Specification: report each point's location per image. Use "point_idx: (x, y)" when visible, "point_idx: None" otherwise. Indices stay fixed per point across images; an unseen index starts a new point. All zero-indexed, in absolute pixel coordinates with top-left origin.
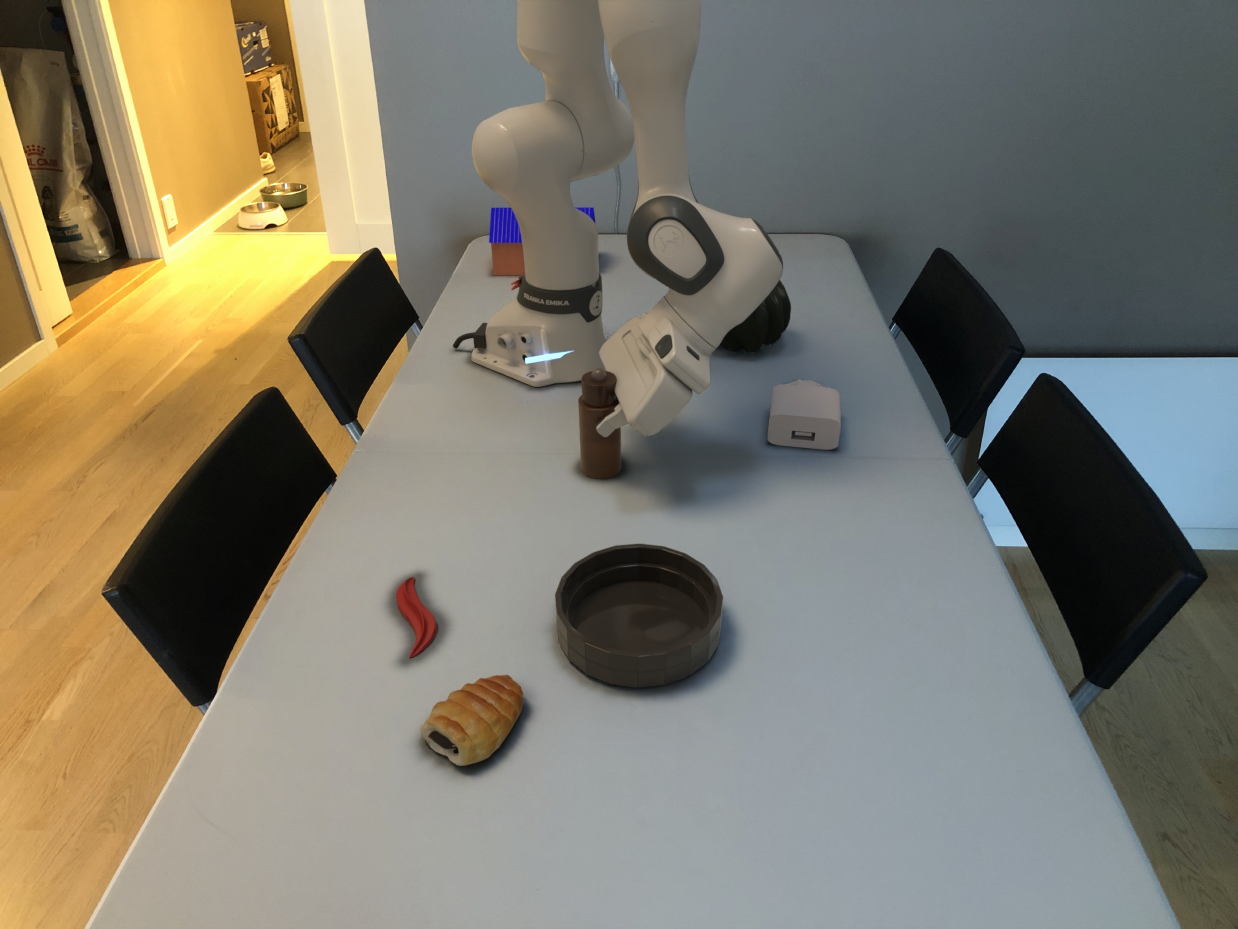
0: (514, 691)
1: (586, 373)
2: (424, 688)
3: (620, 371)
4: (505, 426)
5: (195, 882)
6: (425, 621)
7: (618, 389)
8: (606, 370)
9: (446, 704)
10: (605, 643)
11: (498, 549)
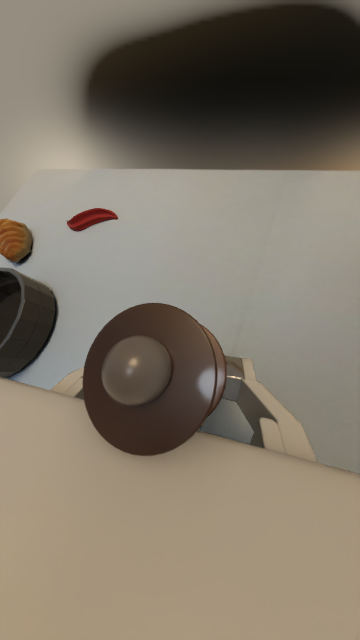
0: (3, 252)
1: (198, 331)
2: (50, 228)
3: (126, 506)
4: (325, 282)
5: (31, 182)
6: (76, 222)
7: (69, 415)
8: (271, 453)
9: (5, 223)
10: (15, 304)
11: (119, 261)
